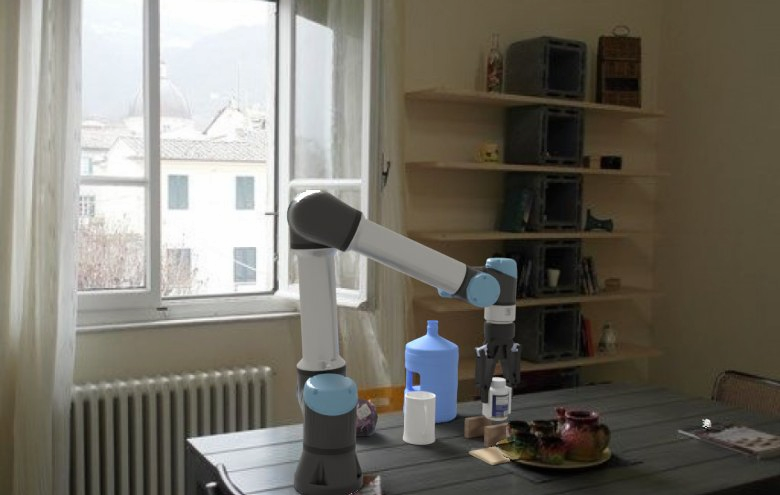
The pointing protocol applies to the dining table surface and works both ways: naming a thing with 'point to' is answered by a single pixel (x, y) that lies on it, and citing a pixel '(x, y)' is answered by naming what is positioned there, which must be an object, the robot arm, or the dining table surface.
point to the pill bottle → (499, 399)
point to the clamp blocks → (485, 430)
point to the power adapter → (707, 423)
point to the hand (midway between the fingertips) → (496, 413)
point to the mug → (419, 418)
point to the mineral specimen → (365, 418)
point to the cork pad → (489, 455)
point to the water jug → (434, 370)
